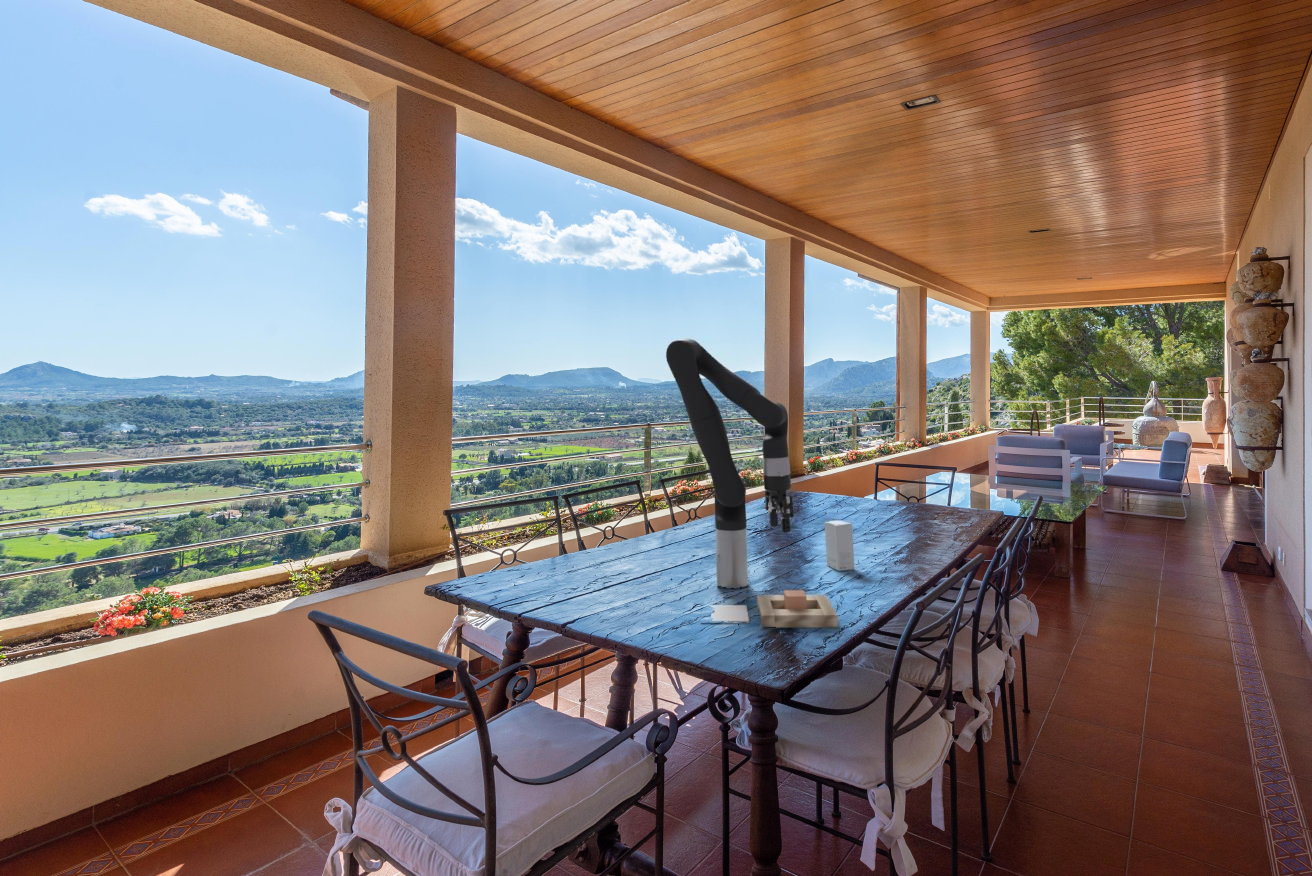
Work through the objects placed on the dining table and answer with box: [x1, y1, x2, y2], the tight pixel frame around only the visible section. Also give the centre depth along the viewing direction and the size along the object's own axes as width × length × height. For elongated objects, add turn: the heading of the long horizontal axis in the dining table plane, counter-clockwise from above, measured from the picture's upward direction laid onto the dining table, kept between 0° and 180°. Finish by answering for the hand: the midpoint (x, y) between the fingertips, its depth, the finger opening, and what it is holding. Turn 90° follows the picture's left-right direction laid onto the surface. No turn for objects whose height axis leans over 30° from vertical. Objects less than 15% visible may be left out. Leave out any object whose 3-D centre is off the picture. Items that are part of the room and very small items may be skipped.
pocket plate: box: [756, 594, 839, 628], centre depth 163 cm, size 18×16×3 cm
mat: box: [709, 604, 750, 624], centre depth 166 cm, size 12×12×1 cm
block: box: [783, 589, 807, 609], centre depth 163 cm, size 5×5×6 cm
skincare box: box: [824, 519, 855, 572], centre depth 207 cm, size 8×6×15 cm
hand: (780, 529), depth 184 cm, fingers open, 8 cm apart
